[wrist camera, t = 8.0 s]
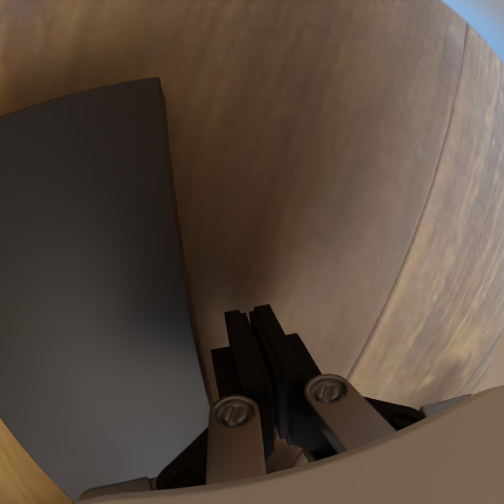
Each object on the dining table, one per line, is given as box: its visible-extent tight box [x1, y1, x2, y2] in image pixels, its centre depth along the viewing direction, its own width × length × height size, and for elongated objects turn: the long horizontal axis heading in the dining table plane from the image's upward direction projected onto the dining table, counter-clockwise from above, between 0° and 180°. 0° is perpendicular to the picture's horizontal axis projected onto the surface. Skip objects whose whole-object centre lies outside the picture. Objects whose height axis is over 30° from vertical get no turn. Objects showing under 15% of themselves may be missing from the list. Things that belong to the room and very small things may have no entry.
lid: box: [0, 77, 213, 503], centre depth 11 cm, size 18×9×4 cm, turn 5°
